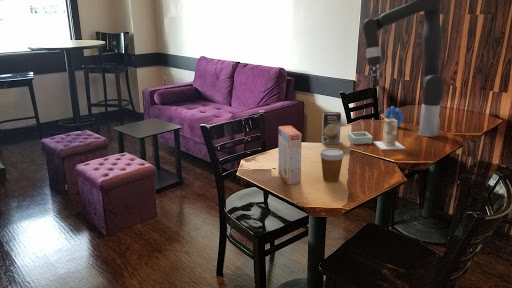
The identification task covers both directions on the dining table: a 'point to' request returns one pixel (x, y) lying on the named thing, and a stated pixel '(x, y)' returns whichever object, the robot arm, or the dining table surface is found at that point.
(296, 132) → the cracker box
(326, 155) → the disposable coffee cup
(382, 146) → the grey mat
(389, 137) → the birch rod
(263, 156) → the dining table surface
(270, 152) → the dining table surface
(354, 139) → the sage holder
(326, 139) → the coffee box
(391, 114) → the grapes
